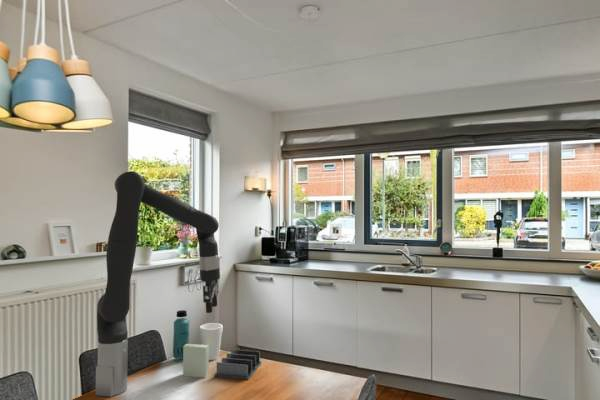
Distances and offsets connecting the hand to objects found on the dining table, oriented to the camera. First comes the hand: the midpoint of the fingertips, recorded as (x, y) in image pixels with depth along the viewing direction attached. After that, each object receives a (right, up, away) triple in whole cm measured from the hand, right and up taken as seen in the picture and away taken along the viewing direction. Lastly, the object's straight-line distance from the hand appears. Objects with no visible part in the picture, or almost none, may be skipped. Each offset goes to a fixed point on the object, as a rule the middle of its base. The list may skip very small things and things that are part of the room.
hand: (211, 309), depth 158 cm
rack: (+10, -23, 0) cm, 26 cm away
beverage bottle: (-15, -24, +11) cm, 30 cm away
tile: (-5, -23, -5) cm, 24 cm away
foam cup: (-3, -24, +13) cm, 27 cm away
